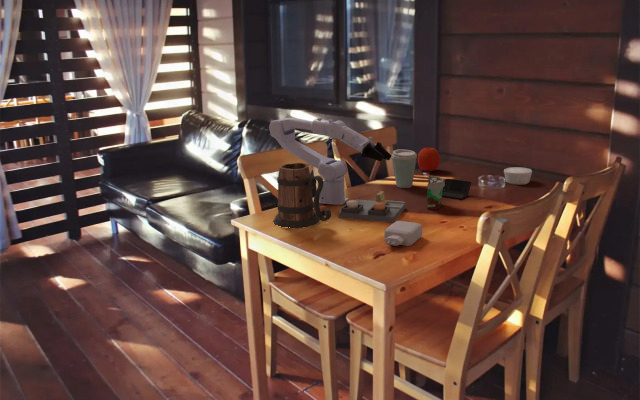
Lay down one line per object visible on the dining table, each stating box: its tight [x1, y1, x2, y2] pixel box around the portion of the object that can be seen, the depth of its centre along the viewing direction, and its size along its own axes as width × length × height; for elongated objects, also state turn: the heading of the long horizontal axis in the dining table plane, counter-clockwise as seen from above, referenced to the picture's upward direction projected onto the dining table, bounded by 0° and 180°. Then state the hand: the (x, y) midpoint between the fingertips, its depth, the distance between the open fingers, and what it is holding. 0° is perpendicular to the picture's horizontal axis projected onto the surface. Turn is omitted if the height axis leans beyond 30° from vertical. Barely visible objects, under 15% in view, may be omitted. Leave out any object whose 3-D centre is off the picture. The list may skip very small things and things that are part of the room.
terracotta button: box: [374, 202, 385, 211], centre depth 207 cm, size 4×4×2 cm
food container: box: [426, 175, 445, 210], centre depth 219 cm, size 12×6×10 cm, turn 168°
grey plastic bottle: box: [383, 220, 423, 247], centre depth 184 cm, size 5×9×15 cm
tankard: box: [272, 162, 332, 229], centre depth 204 cm, size 24×17×20 cm
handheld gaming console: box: [442, 178, 472, 201], centre depth 232 cm, size 12×7×10 cm
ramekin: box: [503, 166, 533, 186], centre depth 247 cm, size 11×11×5 cm
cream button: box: [346, 199, 358, 209], centre depth 211 cm, size 4×4×2 cm
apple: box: [417, 147, 441, 172], centre depth 270 cm, size 10×10×12 cm
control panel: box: [338, 198, 406, 224], centre depth 214 cm, size 20×17×4 cm
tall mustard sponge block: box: [375, 190, 389, 205], centre depth 216 cm, size 3×5×4 cm, turn 158°
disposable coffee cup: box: [391, 149, 418, 189], centre depth 245 cm, size 11×11×15 cm
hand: (386, 158), depth 212 cm, fingers open, 7 cm apart
